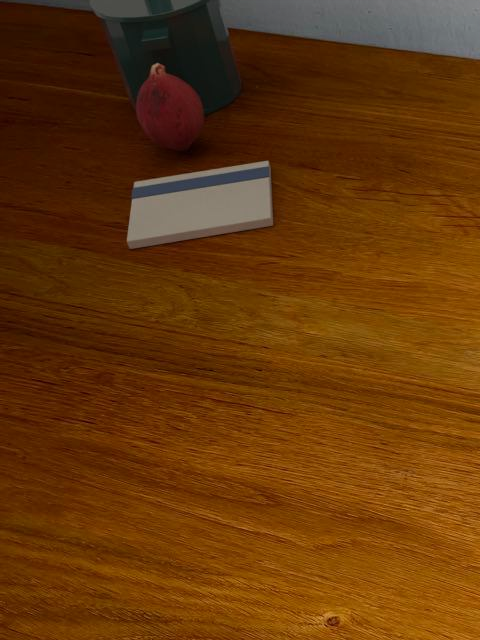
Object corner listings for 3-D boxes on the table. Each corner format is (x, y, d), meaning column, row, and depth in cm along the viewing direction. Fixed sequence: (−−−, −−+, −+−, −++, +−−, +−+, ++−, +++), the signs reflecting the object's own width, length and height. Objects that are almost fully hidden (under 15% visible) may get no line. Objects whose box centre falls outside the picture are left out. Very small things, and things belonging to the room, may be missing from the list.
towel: (129, 249, 88) (125, 240, 87) (137, 189, 94) (133, 180, 94) (273, 226, 89) (270, 216, 88) (270, 168, 95) (268, 159, 95)
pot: (127, 141, 101) (89, 40, 94) (138, 68, 112) (104, -27, 104) (242, 123, 101) (213, 21, 94) (242, 53, 112) (215, -43, 105)
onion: (200, 167, 96) (172, 80, 90) (142, 166, 97) (110, 80, 91) (223, 136, 100) (197, 51, 94) (166, 135, 101) (137, 50, 95)
